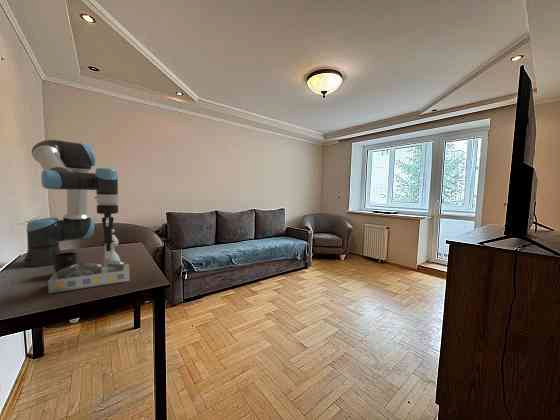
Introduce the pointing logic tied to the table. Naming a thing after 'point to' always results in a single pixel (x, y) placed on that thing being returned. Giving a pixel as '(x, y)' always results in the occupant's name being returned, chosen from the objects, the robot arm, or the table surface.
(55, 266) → the mug
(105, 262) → the figurine
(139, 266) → the table surface
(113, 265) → the switch
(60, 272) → the switch
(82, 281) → the console
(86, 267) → the switch
